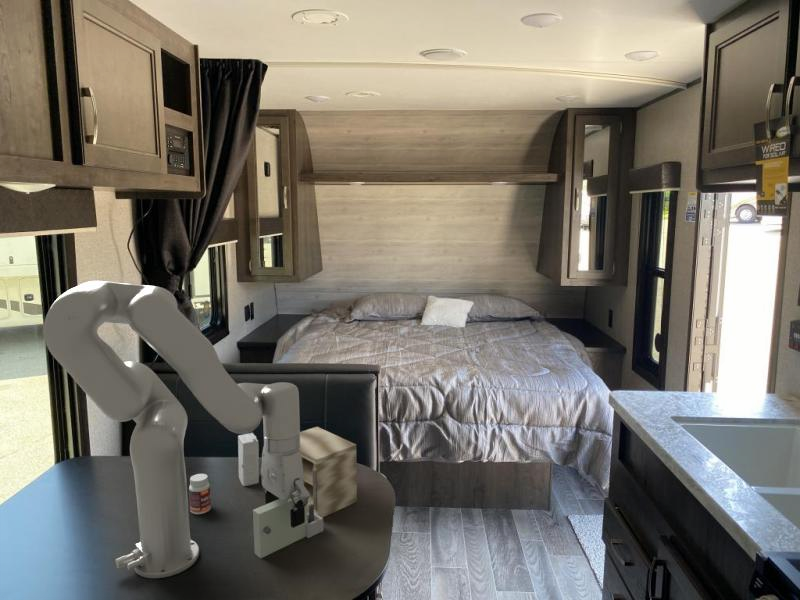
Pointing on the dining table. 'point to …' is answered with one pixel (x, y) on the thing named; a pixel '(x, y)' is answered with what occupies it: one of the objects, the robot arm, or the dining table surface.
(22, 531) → the dining table surface
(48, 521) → the dining table surface
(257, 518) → the door
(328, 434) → the cabinet
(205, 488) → the pill bottle
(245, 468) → the skincare box
